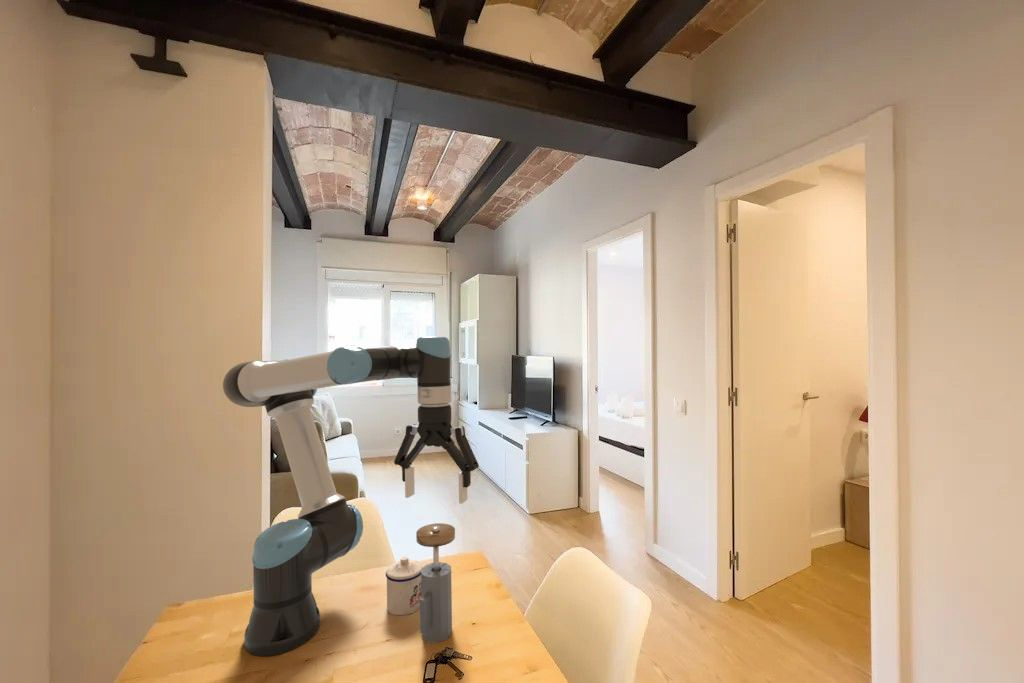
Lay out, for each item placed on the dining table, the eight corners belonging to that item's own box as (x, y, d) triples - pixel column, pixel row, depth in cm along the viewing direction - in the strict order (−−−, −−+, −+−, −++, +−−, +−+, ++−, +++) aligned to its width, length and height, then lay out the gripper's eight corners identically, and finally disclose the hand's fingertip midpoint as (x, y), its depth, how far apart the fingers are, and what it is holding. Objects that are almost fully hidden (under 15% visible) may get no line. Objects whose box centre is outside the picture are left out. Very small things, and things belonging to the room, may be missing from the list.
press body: (409, 646, 92) (408, 580, 93) (431, 620, 101) (430, 560, 102) (436, 653, 90) (435, 586, 90) (456, 626, 99) (456, 564, 99)
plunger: (409, 599, 95) (408, 532, 95) (429, 579, 103) (428, 518, 103) (444, 606, 92) (443, 537, 92) (462, 585, 100) (461, 522, 100)
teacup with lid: (416, 617, 102) (416, 568, 103) (379, 615, 103) (379, 566, 104) (431, 589, 114) (431, 545, 115) (398, 588, 115) (397, 544, 116)
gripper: (378, 405, 99) (379, 498, 98) (478, 408, 90) (480, 510, 90) (397, 401, 106) (398, 488, 105) (491, 403, 98) (493, 498, 97)
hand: (436, 498), depth 98 cm, fingers open, 13 cm apart
